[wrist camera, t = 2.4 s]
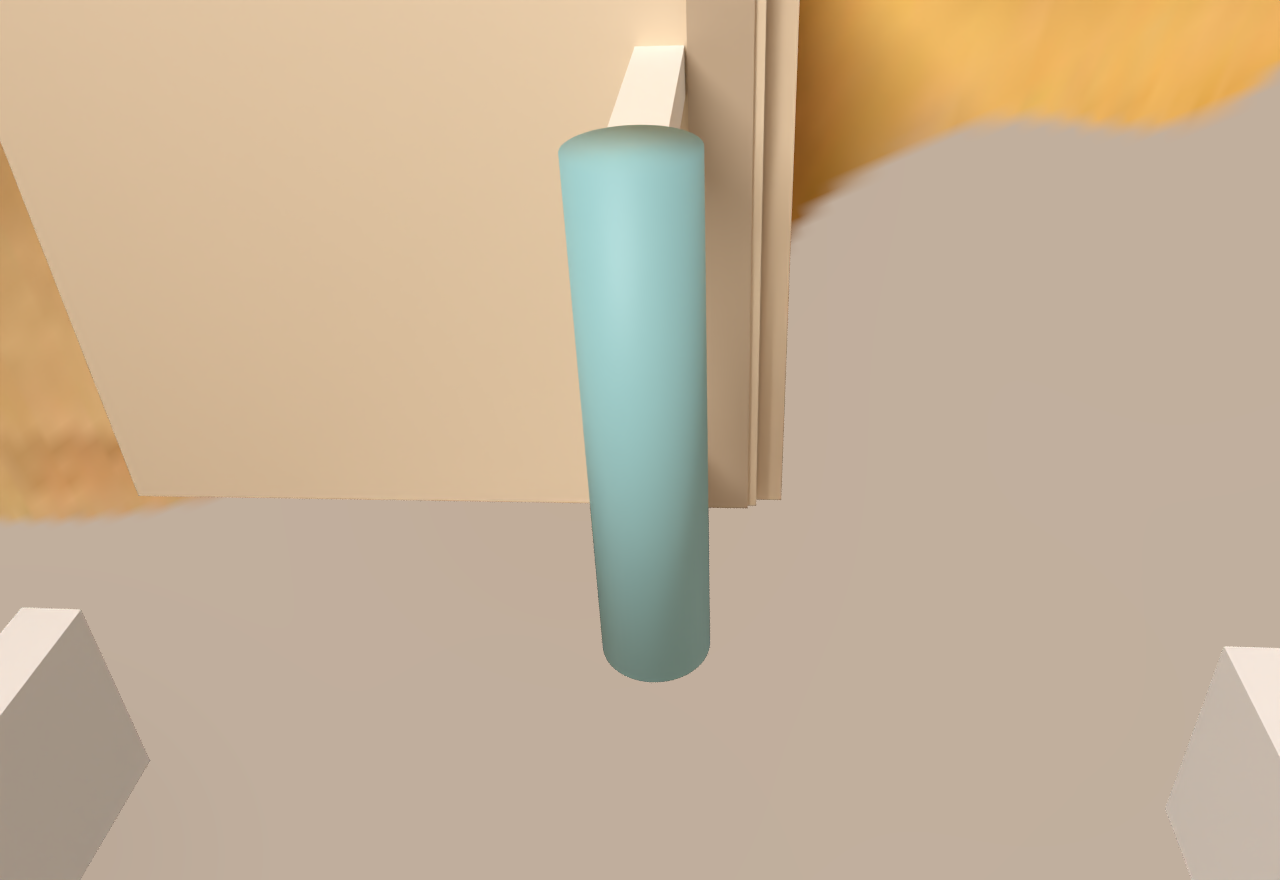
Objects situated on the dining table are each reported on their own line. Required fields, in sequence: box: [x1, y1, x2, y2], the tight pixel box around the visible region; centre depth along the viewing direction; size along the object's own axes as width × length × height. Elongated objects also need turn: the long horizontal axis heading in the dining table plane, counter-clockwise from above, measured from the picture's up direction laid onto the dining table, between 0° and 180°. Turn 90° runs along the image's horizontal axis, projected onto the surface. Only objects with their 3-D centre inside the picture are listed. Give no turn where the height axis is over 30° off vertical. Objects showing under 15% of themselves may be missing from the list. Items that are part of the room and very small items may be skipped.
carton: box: [756, 0, 800, 500], centre depth 28 cm, size 16×12×13 cm
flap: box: [0, 0, 766, 682], centre depth 20 cm, size 15×12×7 cm
